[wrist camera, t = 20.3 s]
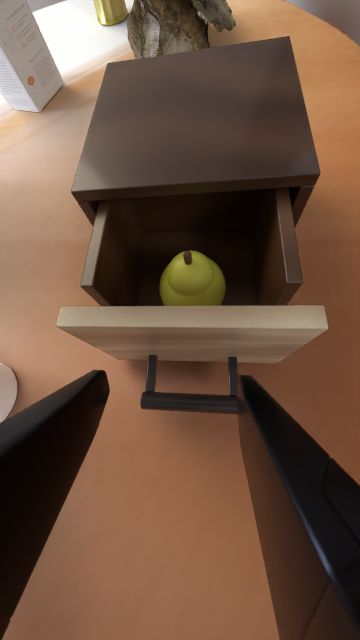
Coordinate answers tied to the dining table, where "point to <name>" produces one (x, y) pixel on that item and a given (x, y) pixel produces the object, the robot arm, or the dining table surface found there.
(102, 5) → the vase
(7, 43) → the small box
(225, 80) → the cabinet
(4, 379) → the can
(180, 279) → the pear
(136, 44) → the grey rough hollow block
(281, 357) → the drawer
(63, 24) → the dining table surface
